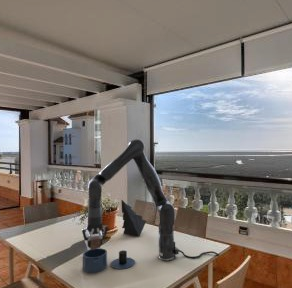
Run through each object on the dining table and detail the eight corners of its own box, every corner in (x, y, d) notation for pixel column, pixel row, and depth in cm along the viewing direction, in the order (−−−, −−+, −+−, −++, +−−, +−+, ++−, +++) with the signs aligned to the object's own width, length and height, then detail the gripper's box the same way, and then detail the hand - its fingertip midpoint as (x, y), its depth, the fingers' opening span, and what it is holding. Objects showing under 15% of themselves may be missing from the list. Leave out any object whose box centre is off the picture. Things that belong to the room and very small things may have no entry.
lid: (131, 257, 147) (131, 245, 148) (137, 267, 135) (137, 254, 135) (108, 261, 142) (108, 249, 142) (113, 272, 130) (112, 259, 130)
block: (99, 244, 138) (99, 235, 138) (100, 247, 133) (100, 238, 133) (89, 246, 136) (89, 236, 136) (90, 249, 131) (90, 239, 132)
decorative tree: (124, 237, 190) (107, 206, 172) (132, 222, 202) (118, 191, 183) (141, 240, 184) (125, 208, 166) (148, 224, 196) (134, 192, 178)
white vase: (88, 251, 157) (87, 228, 157) (104, 251, 156) (104, 228, 157) (81, 259, 146) (81, 233, 146) (99, 259, 146) (98, 233, 146)
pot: (104, 259, 145) (104, 245, 145) (109, 273, 129) (109, 257, 129) (81, 263, 140) (81, 248, 140) (84, 278, 124) (84, 261, 124)
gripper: (107, 212, 141) (107, 241, 141) (80, 215, 136) (80, 246, 135) (109, 215, 134) (109, 246, 134) (81, 218, 129) (81, 251, 128)
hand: (94, 246), depth 135 cm, fingers closed on block, 5 cm apart
